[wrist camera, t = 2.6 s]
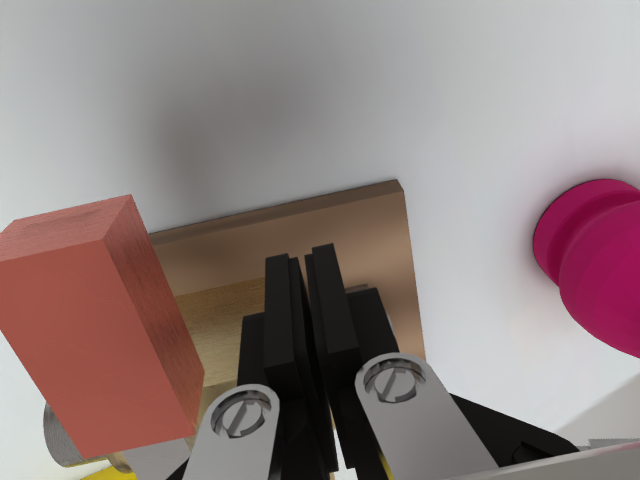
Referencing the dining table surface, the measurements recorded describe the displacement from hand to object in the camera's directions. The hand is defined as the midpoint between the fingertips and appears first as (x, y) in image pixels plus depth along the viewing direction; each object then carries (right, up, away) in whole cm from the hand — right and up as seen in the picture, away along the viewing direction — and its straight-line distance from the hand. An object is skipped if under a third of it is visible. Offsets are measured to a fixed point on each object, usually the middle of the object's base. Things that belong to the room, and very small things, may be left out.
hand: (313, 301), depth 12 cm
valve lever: (-5, -4, +4) cm, 7 cm away
